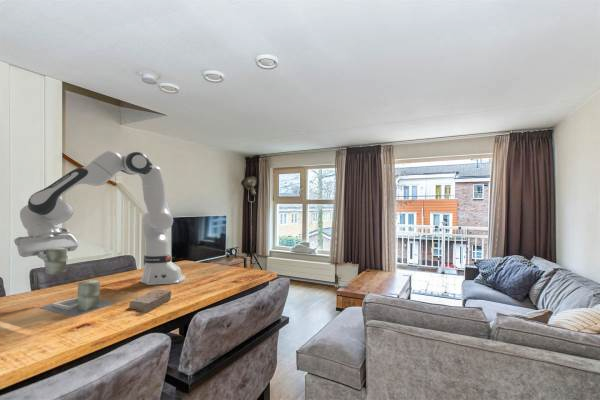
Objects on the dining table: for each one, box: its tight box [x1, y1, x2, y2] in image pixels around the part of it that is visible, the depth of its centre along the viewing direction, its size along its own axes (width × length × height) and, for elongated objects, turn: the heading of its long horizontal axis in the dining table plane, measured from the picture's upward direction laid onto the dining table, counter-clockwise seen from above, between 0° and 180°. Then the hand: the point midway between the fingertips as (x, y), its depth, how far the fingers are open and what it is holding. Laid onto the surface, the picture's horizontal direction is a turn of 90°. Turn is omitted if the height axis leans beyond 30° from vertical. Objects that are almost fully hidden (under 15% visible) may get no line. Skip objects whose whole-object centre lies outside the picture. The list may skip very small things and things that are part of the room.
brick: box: [128, 289, 172, 314], centre depth 119 cm, size 17×8×5 cm, turn 172°
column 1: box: [44, 248, 68, 275], centre depth 120 cm, size 5×5×10 cm
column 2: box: [77, 279, 101, 311], centre depth 111 cm, size 5×5×10 cm
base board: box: [37, 296, 117, 318], centre depth 114 cm, size 16×22×2 cm
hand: (56, 259), depth 120 cm, fingers closed on column 1, 5 cm apart
